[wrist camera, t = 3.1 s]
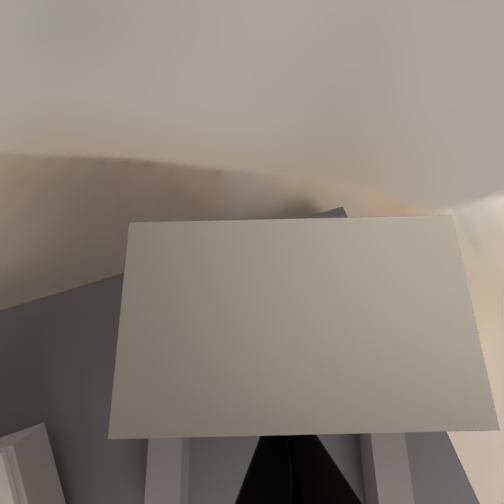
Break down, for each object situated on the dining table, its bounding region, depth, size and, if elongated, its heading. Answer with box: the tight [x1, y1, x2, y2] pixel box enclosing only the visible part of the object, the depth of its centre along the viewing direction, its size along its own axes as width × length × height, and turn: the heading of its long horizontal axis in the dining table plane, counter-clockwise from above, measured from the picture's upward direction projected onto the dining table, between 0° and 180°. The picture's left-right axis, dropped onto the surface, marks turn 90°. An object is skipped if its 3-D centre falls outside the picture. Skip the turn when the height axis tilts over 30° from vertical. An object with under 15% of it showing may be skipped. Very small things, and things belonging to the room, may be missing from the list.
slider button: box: [108, 215, 500, 439], centre depth 10 cm, size 3×5×8 cm, turn 91°
